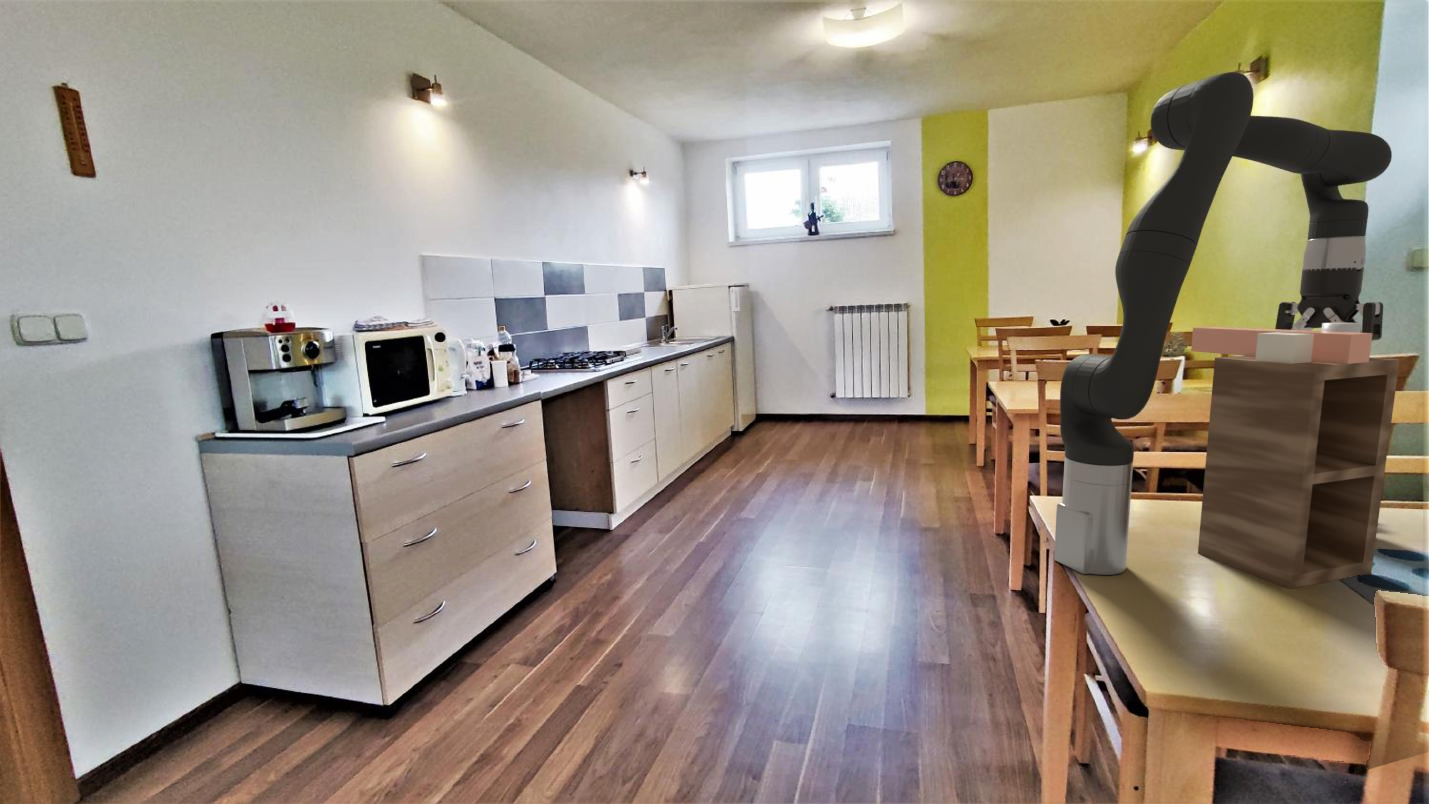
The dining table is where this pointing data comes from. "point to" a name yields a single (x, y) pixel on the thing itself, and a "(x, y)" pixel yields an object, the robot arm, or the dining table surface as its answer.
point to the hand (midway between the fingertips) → (1321, 364)
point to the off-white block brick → (1284, 347)
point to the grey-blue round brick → (1341, 327)
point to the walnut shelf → (1296, 467)
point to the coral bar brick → (1245, 339)
